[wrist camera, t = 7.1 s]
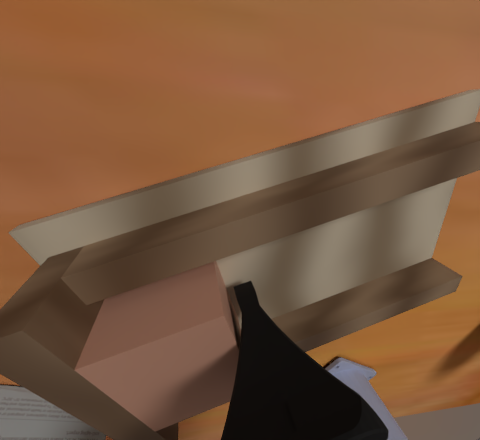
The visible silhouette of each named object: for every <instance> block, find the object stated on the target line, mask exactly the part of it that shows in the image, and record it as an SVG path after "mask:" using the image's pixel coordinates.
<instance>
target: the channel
mask: <svg viewBox="0 0 480 440" xmlns="http://www.w3.org/2000/svg"><path fill="white" fill-rule="evenodd" d="M479 106H480V89H476V90H468V91H465V92H462V93H458V94H455V95H452V96H448V97H445V98H442V99H438V100H435V101H432V102H428V103H425V104H422V105H418V106H415V107H412V108H408V109H405V110H402V111H398V112H395V113H392V114H388V115H385V116H382V117H378V118H375V119H372V120H368V121H365V122H362V123H358V124H355V125H352V126H348V127H345V128H342V129H338V130H335V131H332V132H328V133H325V134H322V135H318V136H315V137H312V138H308V139H305V140H302V141H298V142H295V143H292V144H288V145H285V146H282V147H278V148H275V149H272V150H268V151H265V152H262V153H258V154H255V155H252V156H248V157H245V158H242V159H238V160H235V161H232V162H228V163H225V164H222V165H218V166H215V167H212V168H208V169H205V170H202V171H198V172H195V173H192V174H188V175H185V176H182V177H178V178H175V179H172V180H168V181H165V182H162V183H158V184H155V185H152V186H148V187H145V188H142V189H138V190H135V191H132V192H128V193H125V194H122V195H118V196H115V197H112V198H108V199H105V200H102V201H98V202H95V203H92V204H88V205H85V206H82V207H78V208H75V209H71V210H68V211H65V212H61V213H58V214H55V215H51V216H48V217H45V218H41V219H38V220H35V221H31V222H28V223H25V224H21V225H19V226H17V227H16V228H14V229H13V230H11V231H10V232H9V234H10V235H11V236H12V237H13V238H14V239H15V240H16V241H17V242H18V243H19V244H20V245H21V246H22V247H23V248H24V249H25V250H26V251H27V252H28V253H29V254H30V255H31V256H32V258H33V259H34V260H35V261H36V262H37V263H38V264H39V265H40V267H39V268H38V269H37V270H36V271H35V272H34V274H33V275H32V276H31V277H30V278H29V279H28V280H27V281H26V282H25V283H24V284H23V285H22V287H21V288H20V289H19V290H18V291H17V292H16V293H15V294H14V295H13V296H12V297H11V298H10V300H9V301H8V302H7V303H6V304H5V305H4V306H3V307H2V308H1V309H0V374H2V375H3V376H5V377H7V378H8V379H10V380H12V381H14V382H15V383H17V384H19V385H20V386H22V387H24V388H26V389H27V390H29V391H31V392H33V393H34V394H36V395H38V396H39V397H41V398H43V399H45V400H46V401H48V402H50V403H52V404H53V405H55V406H57V407H58V408H60V409H62V410H64V411H65V412H67V413H69V414H70V415H72V416H74V417H76V418H77V419H79V420H81V421H83V422H84V423H86V424H88V425H89V426H91V427H93V428H95V429H96V430H98V431H100V432H102V433H103V434H105V435H107V436H108V437H110V438H112V439H114V440H178V423H175V424H173V425H170V426H168V427H165V428H163V429H160V430H158V431H156V432H155V431H153V430H152V429H151V428H149V427H148V426H147V425H146V424H144V423H143V422H142V421H140V420H139V419H138V418H136V417H135V416H134V415H132V414H131V413H130V412H128V411H127V410H126V409H125V408H123V407H122V406H121V405H119V404H118V403H117V402H115V401H114V400H113V399H111V398H110V397H109V396H107V395H106V394H105V393H104V392H102V391H101V390H100V389H98V388H97V387H96V386H94V385H93V384H92V383H90V382H89V381H88V380H86V379H85V378H84V377H83V376H81V375H80V374H79V373H77V372H76V371H75V367H76V365H77V363H78V360H79V358H80V356H81V353H82V351H83V348H84V346H85V344H86V341H87V339H88V337H89V334H90V332H91V330H92V327H93V325H94V323H95V320H96V318H97V316H98V313H99V311H100V308H101V306H102V304H103V301H104V299H106V298H109V297H112V296H115V295H118V294H121V293H124V292H127V291H129V290H132V289H135V288H138V287H141V286H144V285H147V284H150V283H153V282H156V281H159V280H161V279H164V278H167V277H170V276H173V275H176V274H179V273H182V272H185V271H188V270H190V269H193V268H196V267H199V266H202V265H205V264H208V263H211V262H214V261H216V262H217V265H218V267H219V270H220V273H221V275H222V278H223V281H224V283H225V286H226V288H227V291H228V294H229V296H230V299H231V301H232V304H233V307H234V309H235V312H236V315H237V317H238V320H239V324H240V328H241V323H242V312H241V310H240V307H239V304H238V301H237V298H236V295H235V291H234V286H237V285H240V284H242V283H245V282H248V281H252V284H253V286H254V288H255V291H256V294H257V298H258V301H259V305H260V306H261V307H262V309H263V310H264V311H265V312H266V313H267V315H268V316H269V317H270V318H271V319H272V320H273V322H274V323H275V324H276V325H277V326H278V327H279V328H280V329H281V330H282V331H283V332H284V333H285V334H286V335H287V336H288V337H289V338H290V339H291V340H292V341H293V342H294V343H295V344H296V345H297V346H298V347H299V348H301V349H302V350H303V351H304V352H306V351H309V350H311V349H314V348H316V347H319V346H321V345H324V344H326V343H329V342H331V341H334V340H336V339H339V338H341V337H343V336H346V335H348V334H351V333H353V332H356V331H358V330H361V329H363V328H366V327H368V326H371V325H373V324H376V323H378V322H381V321H383V320H386V319H388V318H391V317H393V316H395V315H398V314H400V313H403V312H405V311H408V310H410V309H413V308H415V307H418V306H420V305H423V304H425V303H428V302H430V301H433V300H435V299H438V298H440V297H443V296H445V295H447V294H450V293H452V292H455V291H456V289H457V287H458V285H459V283H460V280H461V278H462V276H461V275H459V274H458V273H456V272H454V271H453V270H451V269H449V268H448V267H446V266H444V265H443V264H441V263H439V262H438V261H436V260H434V259H433V258H432V255H433V252H434V249H435V245H436V242H437V239H438V236H439V233H440V230H441V226H442V223H443V220H444V217H445V214H446V211H447V207H448V204H449V201H450V198H451V195H452V192H453V189H454V185H455V182H456V179H457V178H458V177H461V176H464V175H466V174H469V173H472V172H475V171H478V170H480V122H475V119H476V116H477V113H478V110H479Z"/></svg>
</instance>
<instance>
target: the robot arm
mask: <svg viewBox="0 0 480 440" xmlns="http://www.w3.org/2000/svg"><path fill="white" fill-rule="evenodd" d="M234 291H235V295H236V298H237V301H238V304H239V307H240V310H241V312H242V323H241V339H240V349H239V357H238V364H237V370H236V376H235V382H234V387H233V392H232V397H231V401H230V406H229V410H228V415H227V419H226V423H225V426H224V430H223V434H222V438H221V440H408V439H407V437H406V436H405V434H404V433H403V431H402V430H401V428H400V427H399V425H398V424H397V422H396V421H395V420H394V418H393V417H392V415H391V414H390V412H389V411H388V409H387V408H386V406H385V405H384V403H383V402H382V400H381V399H380V398H379V396H378V395H377V393H376V392H375V390H374V389H373V387H372V386H371V384H370V383H369V380H370V379H371V378H373V377H374V376H375V375H376V371H375V370H374V369H371V368H369V367H366V366H363V365H360V364H358V363H355V362H352V361H350V360H347V359H344V358H337V359H336V360H335V361H334V362H332V363H331V364H330V365H329V366H327V367H326V368H325V369H324V368H323V367H322V366H321V365H319V364H318V363H317V362H316V361H315V360H313V359H312V358H311V357H310V356H309V355H308V354H306V353H305V352H304V351H303V350H302V349H301V348H299V347H298V346H297V345H296V344H295V343H294V342H293V341H292V340H291V339H290V338H289V337H288V336H287V335H286V334H285V333H284V332H283V331H282V330H281V329H280V328H279V327H278V326H277V325H276V324H275V323H274V322H273V320H272V319H271V318H270V317H269V316H268V315H267V313H266V312H265V311H264V310H263V309H262V307H261V306H260V305H259V301H258V298H257V294H256V291H255V288H254V286H253V284H252V281H248V282H245V283H242V284H240V285H237V286H234ZM477 440H480V438H479V439H477Z"/></svg>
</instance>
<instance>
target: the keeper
mask: <svg viewBox="0 0 480 440" xmlns="http://www.w3.org/2000/svg"><path fill="white" fill-rule="evenodd" d="M240 339H241V328H240V324H239V320H238V317H237V315H236V312H235V309H234V307H233V304H232V301H231V299H230V296H229V294H228V291H227V288H226V286H225V283H224V281H223V278H222V275H221V273H220V270H219V267H218V265H217V262H216V261H214V262H211V263H208V264H205V265H202V266H199V267H196V268H193V269H190V270H188V271H185V272H182V273H179V274H176V275H173V276H170V277H167V278H164V279H161V280H159V281H156V282H153V283H150V284H147V285H144V286H141V287H138V288H135V289H132V290H129V291H127V292H124V293H121V294H118V295H115V296H112V297H109V298H106V299H104V301H103V304H102V306H101V308H100V311H99V313H98V316H97V318H96V320H95V323H94V325H93V327H92V330H91V332H90V334H89V337H88V339H87V341H86V344H85V346H84V348H83V351H82V353H81V356H80V358H79V360H78V363H77V365H76V367H75V371H76V372H77V373H79V374H80V375H81V376H83V377H84V378H85V379H86V380H88V381H89V382H90V383H92V384H93V385H94V386H96V387H97V388H98V389H100V390H101V391H102V392H104V393H105V394H106V395H107V396H109V397H110V398H111V399H113V400H114V401H115V402H117V403H118V404H119V405H121V406H122V407H123V408H125V409H126V410H127V411H128V412H130V413H131V414H132V415H134V416H135V417H136V418H138V419H139V420H140V421H142V422H143V423H144V424H146V425H147V426H148V427H149V428H151V429H152V430H153V431H155V432H156V431H158V430H160V429H163V428H165V427H168V426H170V425H173V424H175V423H178V422H180V421H183V420H185V419H188V418H190V417H193V416H195V415H197V414H200V413H202V412H205V411H207V410H210V409H212V408H215V407H217V406H220V405H222V404H225V403H227V402H230V401H231V397H232V392H233V387H234V382H235V376H236V370H237V364H238V357H239V349H240Z"/></svg>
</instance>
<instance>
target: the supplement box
mask: <svg viewBox="0 0 480 440" xmlns="http://www.w3.org/2000/svg"><path fill="white" fill-rule="evenodd" d="M105 438H106V435H105V434H103V433H102V432H100V431H98V430H96V429H95V428H93V427H91V426H89V425H88V424H86V423H84V422H83V421H81V420H79V419H77V418H76V417H74V416H72V415H70V414H69V413H67V412H65V411H64V410H62V409H60V408H58V407H57V406H55V405H53V404H52V403H50V402H48V401H46V400H45V399H43V398H41V397H39V396H38V395H36V394H34V393H33V392H31V391H29V390H27V389H26V388H24V387H18V386H8V385H0V440H105Z"/></svg>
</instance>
